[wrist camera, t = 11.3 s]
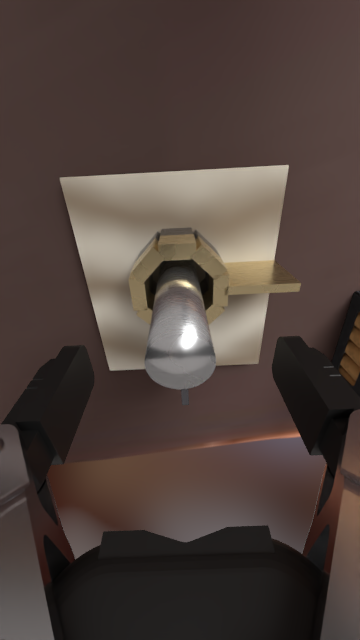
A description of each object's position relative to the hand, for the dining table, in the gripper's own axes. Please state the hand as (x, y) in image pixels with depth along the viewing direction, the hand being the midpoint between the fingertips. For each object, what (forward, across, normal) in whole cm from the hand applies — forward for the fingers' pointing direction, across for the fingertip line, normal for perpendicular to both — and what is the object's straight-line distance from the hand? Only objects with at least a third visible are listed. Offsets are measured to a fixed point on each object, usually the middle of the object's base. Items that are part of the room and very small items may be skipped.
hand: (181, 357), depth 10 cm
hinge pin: (+12, 0, 0) cm, 12 cm away
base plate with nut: (+13, 0, +2) cm, 13 cm away
